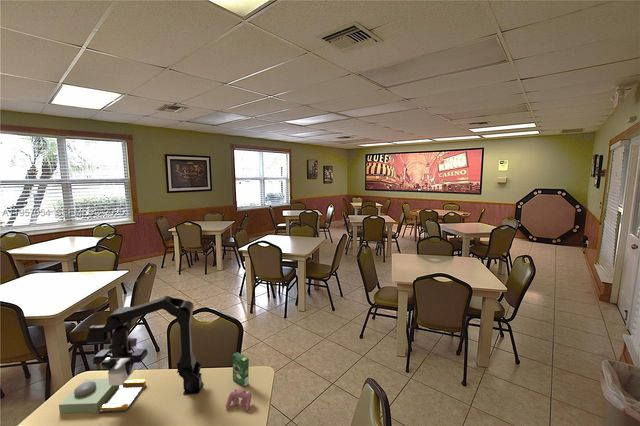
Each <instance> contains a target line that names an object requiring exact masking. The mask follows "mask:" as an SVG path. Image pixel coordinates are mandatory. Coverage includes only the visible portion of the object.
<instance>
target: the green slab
mask: <svg viewBox="0 0 640 426" xmlns="http://www.w3.org/2000/svg"><path fill="white" fill-rule="evenodd" d="M119 387H120V385H113V386H109V378H85V379H84V380H83V381H82V382H81V383H79V384H78V385H77V386H76V387H75V388H74V389H73V390H72V391H71V392H70V393H69V394H68V395H67V396H66V397H65V398H64V399H63V400H62V401H61V402H60V403H59V404H58V409H59V410H58V411H59V414H60V415H63V414H86V413H87V414H88V413H91V414H92V413H99V411H100V409H101V408H102V406H103V405H104V404H105V403H106V402H107V401H108V400H109V399H110V397H111V396H112V395H113V394H114V393H115V391H116V390H117V389H118V388H119Z"/></svg>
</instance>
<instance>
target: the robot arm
mask: <svg viewBox="0 0 640 426" xmlns="http://www.w3.org/2000/svg"><path fill="white" fill-rule="evenodd" d="M160 310H163V311H166V312H167V313H168V314H170V315H171V316H173V317H175V319H176V321H177V324H178V325H179V329H180V331H179V332H180V350H181V351H180V352H181V354H180V355H179V357H178V361H177V363H176V367H177V370H176V374H178V375H179V377H181V378H182V380H183V381H182V382H183V385H182V387H183V390H184V391H182V392H183V393H182V394H183V395H195V394H196V395H197V394H199V393H200V392H201V389H202V387H203V385H204V382H203V379H202V372H201V368H202V363H200V362H198V361H196V360H197V359H196V356H195V354H194V352H193V343H192V340H193V339H192V337H193V336H192V318H193V313H194V303H193V302H192V301H190V300H184V299H182V298H178V297H177V298H176V297H171V296H169V295H164V296H162V297H160V298H157V299H154V300H151V301H148V302H144V303H141V304H138V305H134V306H122V307H118V308H116V309H115V310H113V312H111V313H110V315H109V316H107V318H106V323H105V324H101V325H93V324H92V325H90V326H89V327H88V332H87V335H86V338H85V339H86V343H87V344H89V345H90V344H102V343H106V342H107V341H108V340H109V339H110V345H109V346H108V347H109V348H108V349H101V350H100V351H99V352H97V353H96V354H95V355H94V356H93V358H92V365H101V366H103V367H104V368H105V369H107V370H108V371H109V370H110V369H111V368H112V367H113V366H114V365H115V364H116V363H117V359H118V360H120V359H125V358H128V361H127V362H126V363H125V366H126V371H127V374H128V375H130V373H131V370H132V367H133V364H134V365H135V364H137V363H138V364H139V363H142V362H143V361H144V360H145V358H146V357H147V355H149V354H148V352H149V351H148V349H147V348H137V349H136V350H135V351H132V350H133V348H134V347H136V346H137V341H138V339H137V337H132V338H131V337H129V335H128V334H129V333H128V331H130V330H131V328H133V327H134V325H133V323H130V321H132V320H133V319H135V318H139V317H142V316H146V315H148V314H152V313H154V312H158V311H160ZM130 351H132V352H130ZM130 376H131V375H130Z"/></svg>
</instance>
